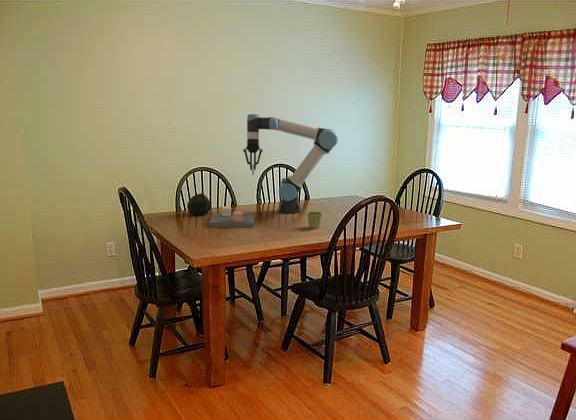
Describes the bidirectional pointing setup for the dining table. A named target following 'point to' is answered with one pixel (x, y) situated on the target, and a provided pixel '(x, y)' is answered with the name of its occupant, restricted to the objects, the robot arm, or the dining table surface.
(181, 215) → the dining table surface
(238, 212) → the salmon orange block
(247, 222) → the console
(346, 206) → the dining table surface
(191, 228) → the dining table surface
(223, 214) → the block
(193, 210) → the squash
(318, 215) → the plant pot
